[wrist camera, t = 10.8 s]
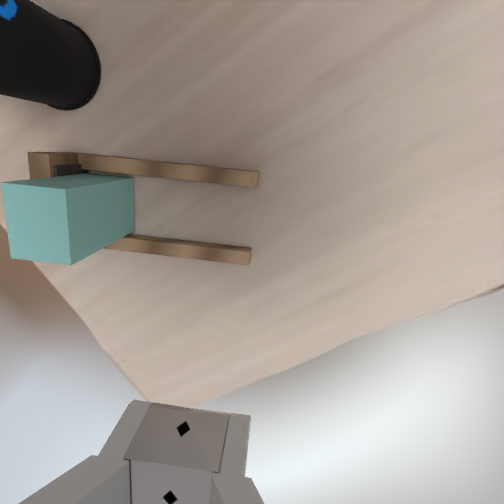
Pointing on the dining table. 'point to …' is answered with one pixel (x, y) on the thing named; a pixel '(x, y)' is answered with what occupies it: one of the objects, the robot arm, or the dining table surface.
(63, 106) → the aerosol can
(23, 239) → the teal rectangular block
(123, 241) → the channel
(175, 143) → the dining table surface
